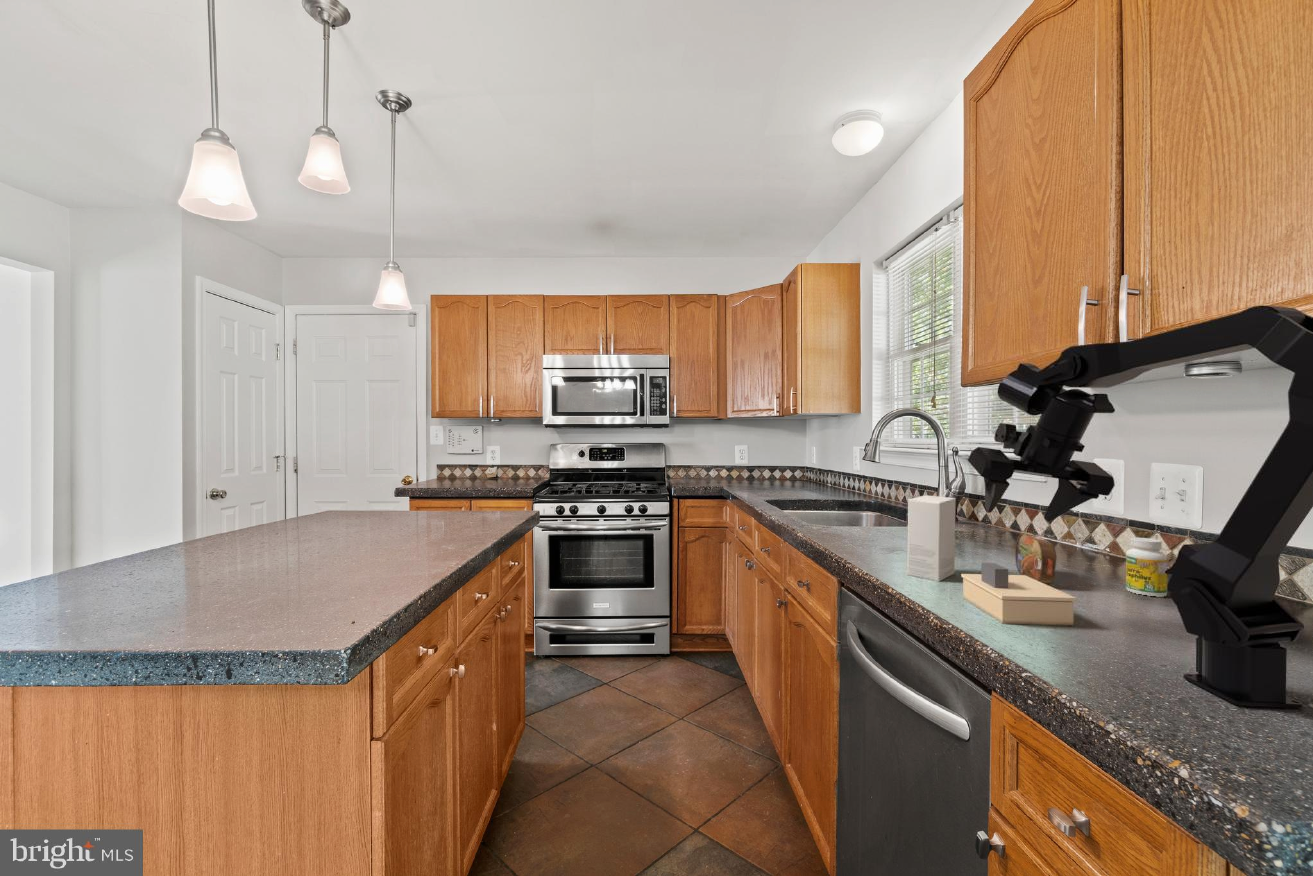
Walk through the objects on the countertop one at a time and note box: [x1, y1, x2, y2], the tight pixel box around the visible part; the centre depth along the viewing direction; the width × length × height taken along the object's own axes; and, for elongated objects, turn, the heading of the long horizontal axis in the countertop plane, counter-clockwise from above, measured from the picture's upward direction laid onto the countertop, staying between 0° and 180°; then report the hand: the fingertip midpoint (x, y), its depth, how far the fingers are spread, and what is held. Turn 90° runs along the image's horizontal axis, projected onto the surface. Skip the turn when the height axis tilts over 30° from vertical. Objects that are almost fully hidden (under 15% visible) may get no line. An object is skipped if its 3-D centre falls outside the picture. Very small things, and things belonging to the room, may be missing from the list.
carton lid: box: [960, 562, 1077, 602], centre depth 85 cm, size 12×10×4 cm
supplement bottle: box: [1125, 537, 1168, 598], centre depth 94 cm, size 5×5×10 cm
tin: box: [1014, 532, 1057, 586], centre depth 103 cm, size 15×3×8 cm, turn 161°
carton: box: [962, 577, 1075, 626], centre depth 85 cm, size 12×10×4 cm
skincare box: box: [906, 494, 956, 583], centre depth 106 cm, size 8×7×16 cm
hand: (1016, 515), depth 85 cm, fingers open, 9 cm apart
